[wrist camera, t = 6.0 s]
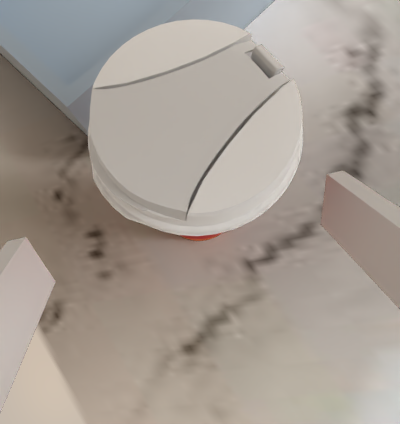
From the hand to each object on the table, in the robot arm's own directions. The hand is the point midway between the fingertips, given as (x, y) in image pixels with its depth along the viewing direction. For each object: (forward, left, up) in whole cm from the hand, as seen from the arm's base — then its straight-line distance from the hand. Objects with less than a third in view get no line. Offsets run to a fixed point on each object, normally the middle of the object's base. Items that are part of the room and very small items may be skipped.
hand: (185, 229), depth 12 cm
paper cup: (+2, -3, -10) cm, 10 cm away
